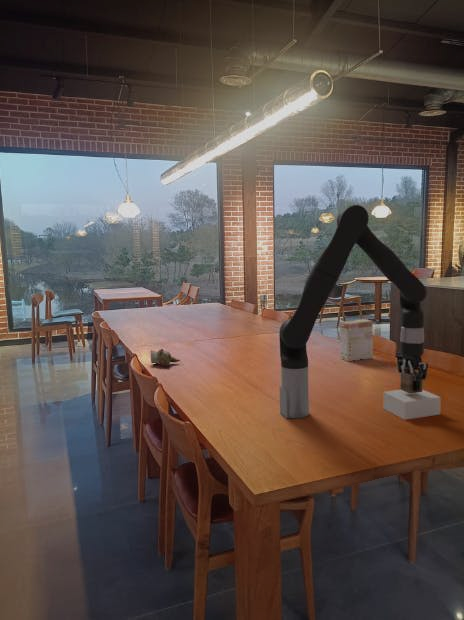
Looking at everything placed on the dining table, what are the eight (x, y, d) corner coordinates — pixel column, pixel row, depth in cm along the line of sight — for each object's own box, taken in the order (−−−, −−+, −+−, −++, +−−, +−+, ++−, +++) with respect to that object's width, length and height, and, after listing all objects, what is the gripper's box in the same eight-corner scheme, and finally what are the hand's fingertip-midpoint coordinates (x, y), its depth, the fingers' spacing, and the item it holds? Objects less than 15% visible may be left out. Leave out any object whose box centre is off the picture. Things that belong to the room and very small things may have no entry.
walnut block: (409, 393, 157) (410, 376, 156) (400, 389, 162) (400, 372, 161) (422, 391, 159) (422, 374, 158) (412, 387, 163) (413, 371, 163)
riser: (404, 419, 154) (404, 402, 153) (383, 408, 165) (383, 391, 164) (440, 414, 157) (440, 397, 157) (416, 403, 169) (417, 387, 168)
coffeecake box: (364, 355, 244) (365, 318, 241) (373, 358, 237) (373, 320, 234) (339, 358, 239) (339, 321, 237) (347, 361, 232) (347, 323, 230)
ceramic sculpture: (157, 345, 246) (180, 348, 239) (157, 361, 247) (181, 365, 240) (144, 349, 236) (169, 353, 230) (144, 366, 238) (169, 370, 231)
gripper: (389, 337, 164) (389, 384, 166) (416, 345, 150) (415, 396, 152) (408, 335, 166) (407, 382, 168) (436, 343, 152) (434, 393, 154)
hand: (411, 388), depth 160 cm, fingers closed on walnut block, 5 cm apart
